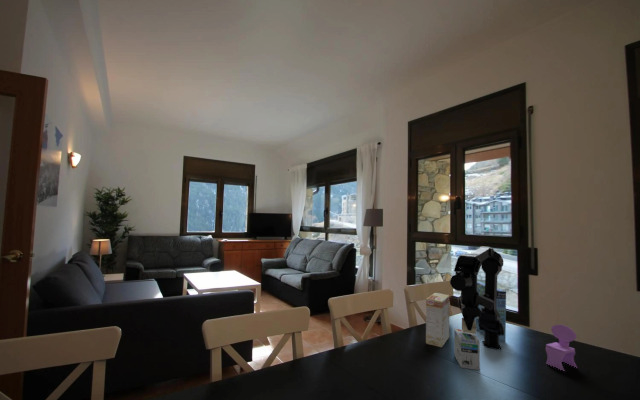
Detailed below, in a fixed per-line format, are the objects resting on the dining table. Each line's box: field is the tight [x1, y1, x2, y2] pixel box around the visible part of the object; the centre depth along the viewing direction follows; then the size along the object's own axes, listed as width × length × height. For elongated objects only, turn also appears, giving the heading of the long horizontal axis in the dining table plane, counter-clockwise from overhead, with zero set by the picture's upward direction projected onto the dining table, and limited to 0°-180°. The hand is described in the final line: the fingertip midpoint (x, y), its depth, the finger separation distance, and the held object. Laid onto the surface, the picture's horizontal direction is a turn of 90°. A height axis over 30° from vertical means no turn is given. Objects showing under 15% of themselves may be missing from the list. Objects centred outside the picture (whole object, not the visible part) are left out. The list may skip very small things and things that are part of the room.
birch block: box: [461, 317, 477, 335], centre depth 114 cm, size 4×4×4 cm
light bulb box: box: [453, 328, 481, 371], centre depth 113 cm, size 11×7×11 cm, turn 168°
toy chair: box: [545, 324, 578, 372], centre depth 113 cm, size 8×9×15 cm
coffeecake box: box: [425, 292, 450, 348], centre depth 134 cm, size 15×7×20 cm, turn 144°
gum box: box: [474, 281, 507, 343], centre depth 144 cm, size 20×5×23 cm, turn 4°
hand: (468, 328), depth 114 cm, fingers closed on birch block, 4 cm apart
